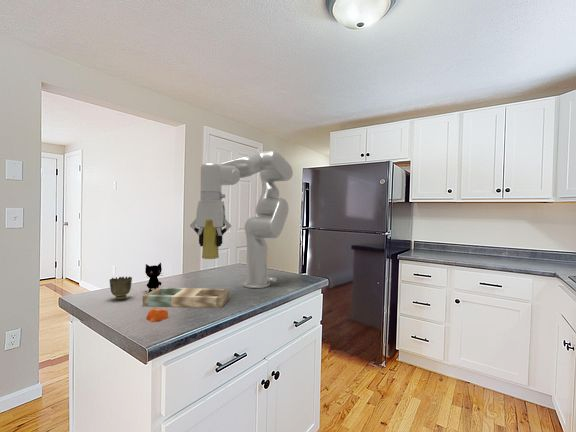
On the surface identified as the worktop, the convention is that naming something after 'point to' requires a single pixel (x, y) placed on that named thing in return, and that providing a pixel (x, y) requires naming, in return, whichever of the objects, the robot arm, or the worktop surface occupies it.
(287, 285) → the worktop surface
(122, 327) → the worktop surface
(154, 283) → the cat figurine
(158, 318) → the rock
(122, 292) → the cup
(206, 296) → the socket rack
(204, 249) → the vase
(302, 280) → the worktop surface
